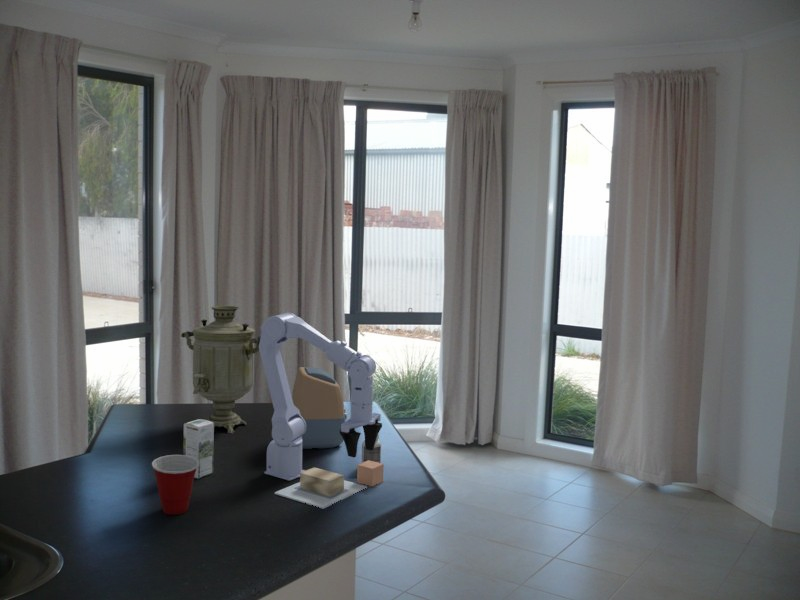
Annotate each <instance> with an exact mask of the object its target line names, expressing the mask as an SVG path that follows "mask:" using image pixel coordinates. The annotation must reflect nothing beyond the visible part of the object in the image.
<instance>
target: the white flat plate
mask: <svg viewBox="0 0 800 600" xmlns="http://www.w3.org/2000/svg"><path fill="white" fill-rule="evenodd" d="M365 488H366V489H368V486H367V485H363V484H360V483H357V482H352V481H348V480H346V479H344V491H341V492H339V493H337V494H335V495H333V496H331V497H330V496H326V495H323V494H320V493H316V492H313V491H309V490H306V489H303V488H300V481H299V482H296V483H294V484H292V485H289V486H287V487H284V488H282V489H278V490H277V491H275V492H274V495H276V496H280V497H283V498H286V499H290V500H292V501H295V502H300V503H303V504H305V503H306V505H309V506H312V505H313V506H312V507H315V506H316V507H315V508H318V507H319V509H322V510H324V509H326V508H328V507H330V506H332V504H333V505H334V503H335V504H336V502H337V503H338V501H339V502H341V501H343V500H345V499H347V498H349V497H351V496H353V494H354V495H355V493H356V494H357V492H358V493H359V491H360V492H362V491H364V490H366V489H365ZM363 489H364V490H363ZM361 490H362V491H361ZM340 500H341V501H340Z"/></svg>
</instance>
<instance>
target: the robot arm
mask: <svg viewBox="0 0 800 600" xmlns="http://www.w3.org/2000/svg"><path fill="white" fill-rule="evenodd" d="M260 330H261V334H260V337H261V338H260V343H259V351H258V352H259V355H260V358H261V362H262V366H263V370H264V371H263V372H264V374H265V378H266V382H267V387H268V390H269V394H270V399H271V402H272V406H273V410H274V411H273V414H272V417H271V421H270V422H271V424H272V426H271V427H272V429H271V438H272V439H273V440H271V441H270V442H269V443H268V446H267V447H266V471H265V470H264V474H265V475H268V476H272V477H276V478H279V479H283V480H286V481H290V482H291V481H292V480H295V479H297V478H300V473H301V472H304V471H306V470H307V469H303V449H302V435H303V434H304V433H305V431H306V422H305V420H304V419H303V418H302V416H301V414H300V411H299V409H298V408H297V407H295V406H294V404H293V400H292V393H291V388H290V385H289V384H290V383H289V380H288V375H287V373H286V368H285V364H284V360H283V357H282V352H281V348H282V347H283V346H284V344H285V343H286V341H287V340H289V339H296V338H297V339H301V340H303V341H305V342H306V343H309V344H310V345H312V346H314V347H315V348H318V349H319V350H320V351H323V352H324V354H325V357H326V359H327V360H328V361H330V362H331V363H333V364H334V365H336V366H338V367H339V368H341V369H342V370H344V371H346V372H347V374H348V376H349V378H350V381H351V382H350V418H348V419H347V420H345V423H343V424H341V429H340V434H341V436H342V438H343V442H344V445H345V447H346V452H347V456H348V457H351V458H356V457H357V453H358V444H359V439H360V436H361V435H362V433H361V432H359V431H357V429H358V428H361V427H362V429H363V433H364V440H365V447H366V449H368V450H373V449H374V445H375V441H376V438H377V435H378V433H379V434H380V431H381V429H382V428H383V423H382V422H381V413H377V412H373V404H374V403H373V402H374V401H373V399H374V398H373V397H374V395H373V394H374V393H373V392H374V385H373V383H374V382H373V381H374V376H373V375H374V374H375V372H376V370H377V363H376V362H375V360H374V359H373V358H372V357H371V356H370V355H368V354H363V355H362V352H361V351H356V350H355V349H353V348H351V347H349V346H348V342H346V341H344V340H342V341H340V340H336V341H332V340H331V339H329V338H328V337H326V336H325V335H323V334H322V333H321V332H320V331H318V330H317V329H316V328H314V327H313V326H312V325H310V324H308V323H307V322H306V320H305V321H304V319H303V318H301V317H299V316H297V315H295V314H294V313H292V312H290V311H289V312H288V311H287V312H283V313H281V314H277V315H271V316H269V317H267V318H266V319H265V320H264V322H263V323H262V324H261V326H260Z"/></svg>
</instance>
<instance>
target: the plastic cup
mask: <svg viewBox="0 0 800 600" xmlns="http://www.w3.org/2000/svg"><path fill="white" fill-rule="evenodd" d="M151 466H152V468H153V470H154V474H155V479H156V484H157V485H156V486H157V489H158V490H157V491H158V496H159V500H160V504H161V509H162V512H163V513H164V514H165V515H173V516H174V515H180V514H183V513H185V512H187V511H188V510H189V506H190V499H191V495H192V491H193V486H194V479H195V478H194V475H195V472H196V469H197V467H198V466H199V461H198V460H197V459H195V458H194V457H190V456H186V455H183V454H169V455H168V454H167V455H164V456H160V457H158V458H155V459H153V461H152V462H151Z"/></svg>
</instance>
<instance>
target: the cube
mask: <svg viewBox="0 0 800 600" xmlns="http://www.w3.org/2000/svg"><path fill="white" fill-rule="evenodd" d="M357 482H358V483H357ZM383 482H384V463H378V462H374V461H370V460H368V461H365V462H363V463H362V462H361V463H359V464H357V472H356V483H357V484H360V483H362V484H361V485H363V484H366V485H365V486H367V485H369V486H368V487H371V486H373V487H375V486H377V485H379V484H381V483H383ZM376 484H377V485H376ZM374 485H375V486H374Z"/></svg>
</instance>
